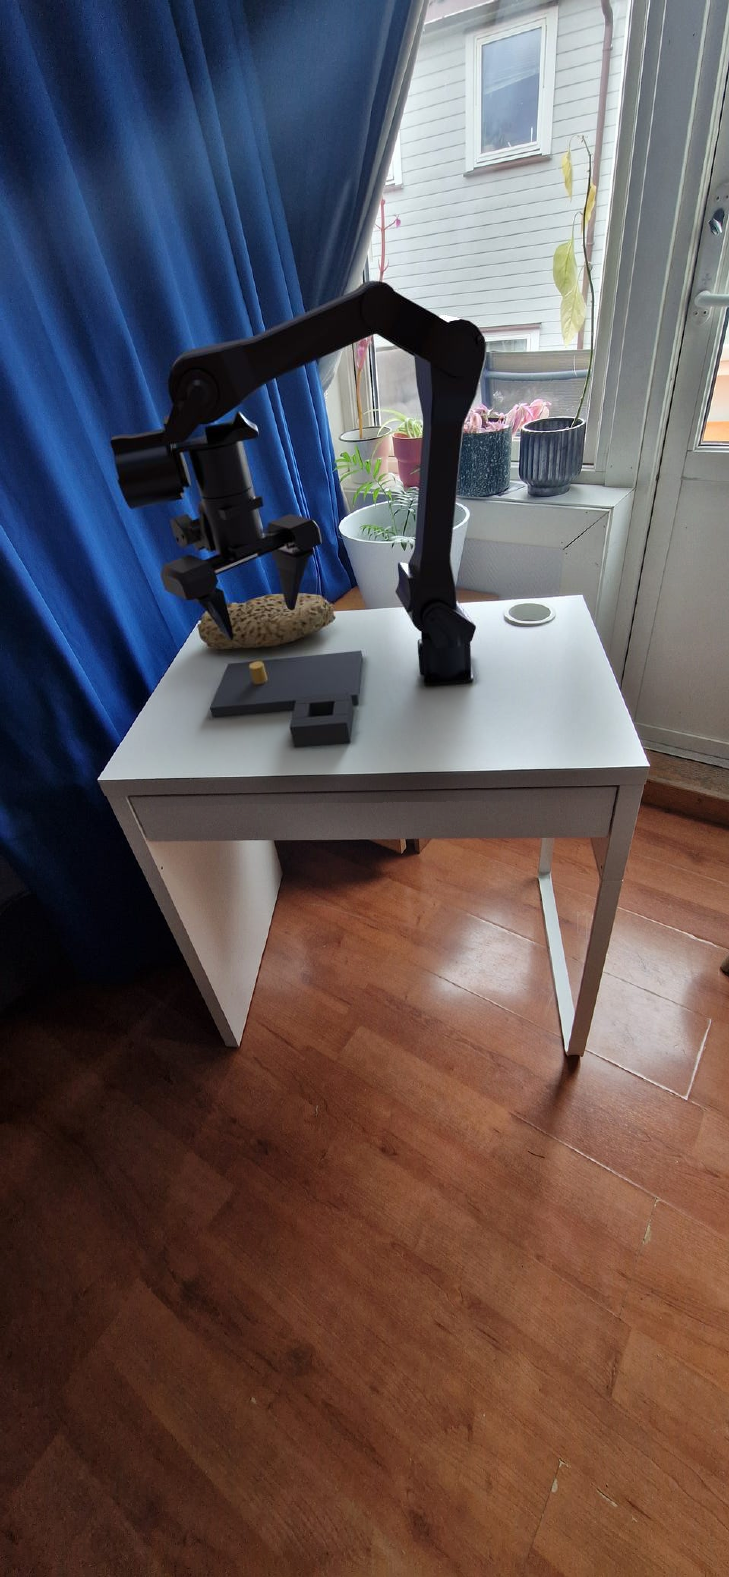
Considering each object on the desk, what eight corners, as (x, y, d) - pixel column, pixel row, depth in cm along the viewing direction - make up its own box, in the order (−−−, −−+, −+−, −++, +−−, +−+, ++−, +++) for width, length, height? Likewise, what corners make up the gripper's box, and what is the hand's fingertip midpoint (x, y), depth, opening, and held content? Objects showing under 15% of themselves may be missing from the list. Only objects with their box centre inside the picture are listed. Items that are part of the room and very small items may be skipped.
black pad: (353, 711, 85) (350, 691, 83) (350, 742, 79) (346, 722, 77) (301, 715, 86) (296, 696, 84) (294, 747, 80) (289, 727, 78)
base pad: (362, 659, 95) (359, 634, 92) (358, 704, 86) (354, 678, 83) (230, 672, 97) (223, 648, 95) (212, 717, 88) (204, 692, 86)
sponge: (204, 666, 103) (313, 646, 94) (185, 617, 99) (296, 592, 91) (245, 640, 113) (347, 620, 104) (230, 596, 110) (333, 571, 101)
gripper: (256, 459, 79) (284, 582, 89) (116, 507, 71) (164, 637, 81) (311, 468, 72) (335, 600, 82) (163, 522, 64) (209, 662, 74)
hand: (261, 623), depth 80 cm, fingers open, 9 cm apart
